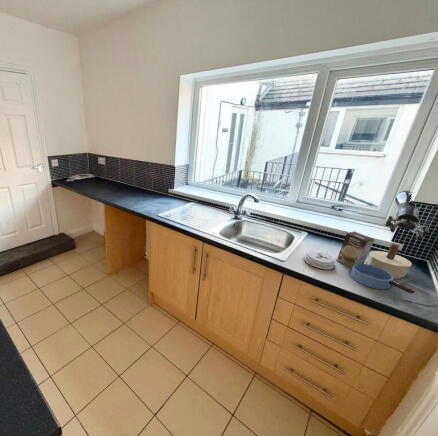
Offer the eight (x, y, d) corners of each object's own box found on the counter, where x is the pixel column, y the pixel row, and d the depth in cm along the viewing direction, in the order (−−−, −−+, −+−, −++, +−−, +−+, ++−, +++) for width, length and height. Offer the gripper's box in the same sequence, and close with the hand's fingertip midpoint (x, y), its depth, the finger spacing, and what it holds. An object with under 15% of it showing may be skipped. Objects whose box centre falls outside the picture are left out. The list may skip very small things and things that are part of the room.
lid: (338, 272, 116) (341, 263, 114) (309, 268, 118) (311, 260, 116) (327, 258, 127) (329, 250, 125) (300, 255, 130) (302, 247, 128)
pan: (419, 295, 100) (424, 286, 98) (401, 303, 95) (405, 294, 93) (361, 269, 118) (364, 261, 117) (343, 275, 113) (346, 266, 112)
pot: (410, 275, 114) (416, 263, 111) (394, 281, 109) (399, 269, 107) (376, 261, 125) (380, 250, 123) (359, 266, 121) (364, 255, 118)
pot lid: (417, 265, 111) (425, 249, 108) (399, 271, 106) (407, 254, 103) (379, 251, 124) (385, 236, 121) (362, 255, 119) (367, 240, 116)
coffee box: (335, 260, 125) (345, 232, 119) (343, 258, 127) (353, 230, 121) (354, 270, 117) (366, 241, 111) (363, 267, 119) (375, 238, 113)
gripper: (392, 205, 122) (389, 222, 113) (432, 214, 114) (432, 234, 105) (384, 217, 126) (381, 234, 117) (423, 226, 118) (422, 246, 109)
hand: (405, 234), depth 111 cm, fingers open, 8 cm apart
